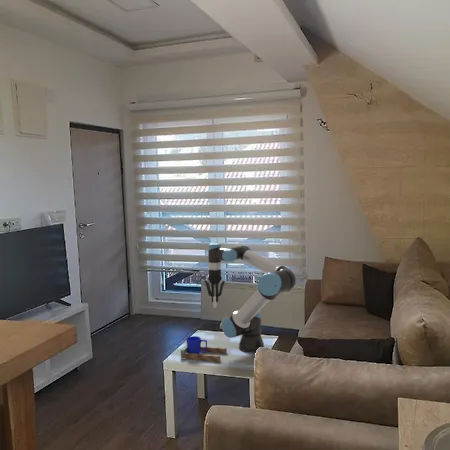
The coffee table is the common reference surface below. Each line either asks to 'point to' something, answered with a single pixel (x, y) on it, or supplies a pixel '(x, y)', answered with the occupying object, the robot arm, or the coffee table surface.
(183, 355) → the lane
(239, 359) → the coffee table surface
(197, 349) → the mug
